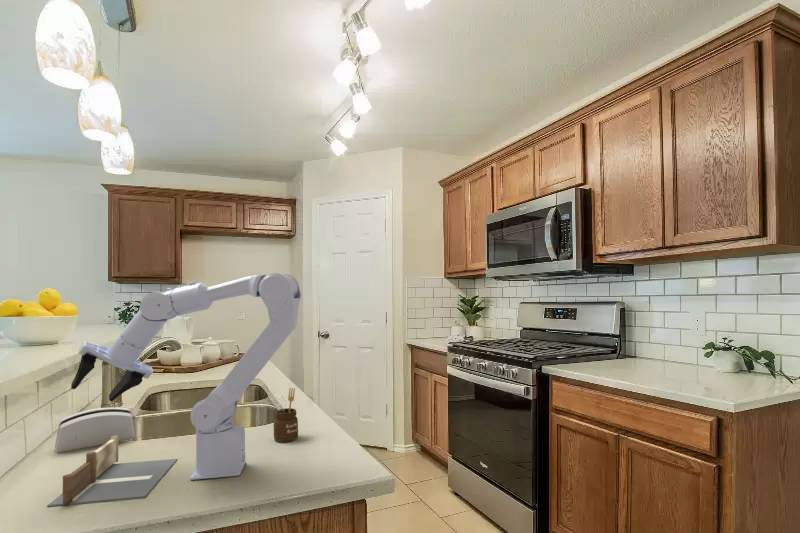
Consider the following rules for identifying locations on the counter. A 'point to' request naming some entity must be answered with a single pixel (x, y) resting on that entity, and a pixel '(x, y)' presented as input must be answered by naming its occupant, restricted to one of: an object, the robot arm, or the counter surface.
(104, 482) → the mat
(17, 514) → the counter surface
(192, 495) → the counter surface
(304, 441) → the counter surface
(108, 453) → the fence panel
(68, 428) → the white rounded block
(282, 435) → the utensil holder
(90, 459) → the fence post and rail
